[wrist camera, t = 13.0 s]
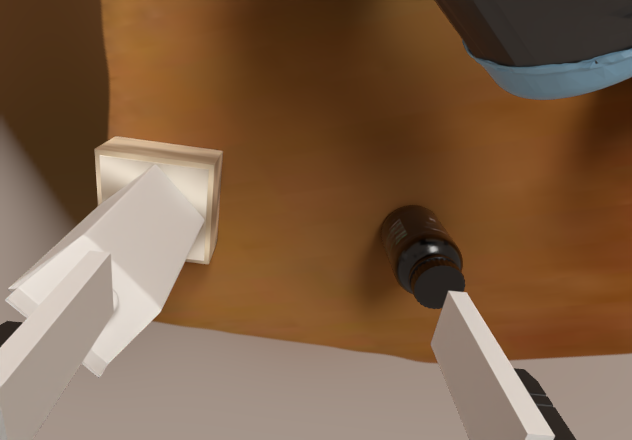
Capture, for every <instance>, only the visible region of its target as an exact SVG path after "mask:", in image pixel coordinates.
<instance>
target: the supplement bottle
mask: <svg viewBox="0 0 632 440" xmlns="http://www.w3.org/2000/svg"><path fill="white" fill-rule="evenodd" d="M381 238H382V242H383V245H384V248H385V251H386V254H387V256H388V259H389V262H390V264H391V267H392V270H393V272H394V275H395V277H396V279H397V281H398V283H399V284H400V286H401V287H402V288H403V289H404V290H406V291H407V292H409V293H411V294H413V295H414V297H415V298H416V299H417V301H418V302H420V304H421V305H423V306H424V307H428V308H433V309H436V308H437V309H440V308H443V305H444V302H445V299H446V296H447V293H448V291H457V292H463V291H464V287H465V280H464V276H463V274H462V267H463V259H462V255H461V252H460V250H459V248H458V247H457V245H456V244H455V242H454V241H453V240H452V238H451V237H450V235H449V234H448V232H447V231H446V230H445V228H444V227H443V225H442V224H441V222H440V221H439V220H438V218H437V217H436V216H435V215H434V213H432V212H431V211H430V210H429V209H427V208H425V207H422V206H417V205H409V206H404V207H401V208H399V209H397V210H395V211H394V212H392V213H391V214H390V215H389V216H388V217H387V219H386V220H385V222H384V224H383V227H382V231H381Z"/></svg>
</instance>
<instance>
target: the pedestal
mask: <svg viewBox="0 0 632 440" xmlns="http://www.w3.org/2000/svg"><path fill="white" fill-rule="evenodd" d="M222 157H223V151H220V150H213V149H206V148H198V147H191V146H184V145H176V144H169V143H162V142H154V141H147V140H140V139H132V138H125V137H118V136H115V137H114V138H112V139H110V140H109V141H107V142H105V143H104V144H103V145H101V146H99V147H97V148H96V149H95V162H96V179H97V195H98V206H99V205H100V204H101V203H103V202H104V201H105V200H107V199H108V198H110V197H111V196H112V195H114V194H115V193H116V192H118V191H119V190H121V189H122V188H123V187H125V186H126V185H127V184H129V183H130V182H131V181H133V180H134V179H136V178H137V177H138V176H140V175H141V174H142V173H144V172H145V171H147V170H148V169H149V168H151V167H152V166H153V165H157V166H158V167H159V168H160V169H161V170H162V171H163V172H164V173H165V175H166V176H167V177H168V178H169V179H170V180H171V181H172V183H173V184H174V185H175V186H176V187H177V188H178V189H179V191H180V192H181V193H182V194H183V195H184V196H185V197H186V199H187V200H188V201H189V202H190V203H191V204H192V205H193V207H194V208H195V209H196V210H197V211H198V212H199V213H200V215H201V216H202V217H203V218H204V223H203V225H202V227H201V229H200V231H199V233H198V235H197V237H196V239H195V242H194V244H193V246H192V248H191V250H190V252H189V254H188V256H187V258H186V260H185V262H192V263H201V264H209V262H210V260H211V257H212V254H213V252H214V249H215V246H216V244H217V234H218V219H219V203H220V188H221V172H222Z"/></svg>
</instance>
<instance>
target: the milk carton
mask: <svg viewBox="0 0 632 440" xmlns="http://www.w3.org/2000/svg"><path fill="white" fill-rule="evenodd" d="M203 223H204V218H203V217H202V216H201V215H200V213H199V212H198V211H197V210H196V209H195V208H194V207H193V205H192V204H191V203H190V202H189V201H188V200H187V199H186V197H185V196H184V195H183V194H182V193H181V192H180V191H179V189H178V188H177V187H176V186H175V185H174V184H173V183H172V181H171V180H170V179H169V178H168V177H167V176H166V175H165V173H164V172H163V171H162V170H161V169H160V168H159V167H158V166H157V165H153V166H152V167H151V168H149V169H148V170H147V171H145V172H144V173H142V174H141V175H140V176H138V177H137V178H136V179H134V180H133V181H131V182H130V183H129V184H127V185H126V186H125V187H123V188H122V189H121V190H119V191H118V192H116V193H115V194H114V195H112V196H111V197H110V198H108V199H107V200H105V201H104V202H103V203H101V204H100V205H99V206H98V207H97V208H96V209H95V210H94V211H92V212H91V213H90V214H89V215H88V216H87V217H86V218H85V219H84V220H83V221H81V222H80V224H78V225H77V226H76V227H75V228H74V229H73V230H72V231H71V232H70V233H68V234H67V235H66V236H65V237H64V238H63V239H62V240H61V241H60V242H59V243H57V245H55V246H54V247H53V248H52V249H51V250H50V251H49V252H48V253H46V254H45V255H44V256H43V257H42V258H41V259H40V260H39V261H38V262H37V263H36V264H34V265H33V266H32V267H31V268H30V269H29V270H28V271H27V272H26V273H25V274H24V275H22V276H21V277H20V278H19V279H18V280H17V281H16V282H15V283H14V284H13V285H11V286H10V287H9V288H8V290H9V291H10V292H11V294H10V295H9V296H8V297H7V298H6V299H5V300H6V302H7V303H9V304H10V305H11V306H12V307H14V308H15V309H16V310H17V311H18V312H20V313H21V314H22V315H23V316H24V317H26V318H28V317H29V316H30V315H31V314H32V312H33V311H34V310H35V309H36V308H37V307H38V306H39V305H40V304H41V303H42V302H43V301H44V299H45V298H46V297H47V296H48V295H49V294H50V293H51V292H52V291H53V290H54V289H55V287H56V286H57V285H58V284H59V283H60V282H61V281H62V280H63V279H64V278H65V277H66V276H67V274H68V273H69V272H70V271H71V270H72V269H73V268H74V267H75V266H76V265H77V264H78V262H79V261H80V260H81V259H82V258H83V257H84V256H85V255H86V254H87V253H88V252H89V251H98V252H107V253H111V267H112V287H113V307H114V313H113V315H112V317H111V318H110V320H109V321H108V323H107V324H106V326H105V328H104V329H103V331H102V332H101V334H100V335H99V337H98V339H97V340H96V342H95V343H94V345H93V346H92V348H91V349H90V351H89V353H88V354H87V356H86V357H85V359H84V360H83V362H82V364H83V365H84V366H85V367H86V368H87V369H89V370H90V371H91V372H92V373H93V374H95V375H96V376H97V377H98V378H99V377H101V376H102V374H103V372H104V371H105V369H106V367H107V365H108V364H109V363H110V362H111V361H112V360H113V359H114V358H115V357H116V356H117V355H118V354H119V353H120V352H121V351H122V350H123V349H124V348H125V347H126V346H127V345H128V344H129V343H130V342H131V341H132V340H133V339H134V338H135V337H136V336H137V335H138V334H139V333H140V332H141V331H142V330H143V329H144V328H145V327H146V326H147V325H148V324H149V323H150V322H151V321H152V320H153V319H154V318H155V317H156V316H157V315H158V314H159V313H160V312H161V310H162V308H163V306H164V304H165V302H166V300H167V298H168V296H169V294H170V292H171V290H172V288H173V285H174V283H175V281H176V279H177V277H178V275H179V273H180V271H181V269H182V267H183V265H184V262H185V260H186V258H187V256H188V254H189V252H190V250H191V248H192V246H193V244H194V242H195V239H196V237H197V235H198V233H199V231H200V229H201V227H202V225H203Z"/></svg>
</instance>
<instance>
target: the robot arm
mask: <svg viewBox="0 0 632 440" xmlns="http://www.w3.org/2000/svg"><path fill="white" fill-rule="evenodd" d="M434 1H435V2H436V3H437V5H438V6H439V7H440V9H441V10H442V12H443V13H444V14H445V16H446V17H447V19H448V20H449V21H450V23H451V24H452V25H453V27H454V28H455V30H456V31H457V32H458V34H459V35H460V37H461V38H462V39H463V40H462V41H463V45H464V47H465V49H466V51H467V53H468V54H469V55H470V56H471V57H472V58H474V59H475V61H476V62H478V63H479V64H481V65H482V66H483V67H484V68H485V70H486V71H487V72H488V73H489V75H490V76H491V77H492V78H493V80H494V81H495V82H496V83H497V84H498V85H499V86H500V87H501V88H503V89H504V90H506V91H507V92H509V93H511V94H513V95H515V96H518V97H522V98H527V99H535V100H551V99H560V98H567V97H573V96H578V95H582V94H586V93H590V92H594V91H597V90H600V89H603V88H606V87H609V86H611V85H614V84H617V83H619V82H622V81H624V80H626V79H629V78H631V77H632V0H434ZM113 313H114V307H113V287H112V267H111V253H107V252H98V251H89V252H88V253H87V254H86V255H85V256H84V257H83V258H82V259H81V260H80V261H79V262H78V264H77V265H76V266H75V267H74V268H73V269H72V270H71V271H70V272H69V273H68V274H67V276H66V277H65V278H64V279H63V280H62V281H61V282H60V283H59V284H58V285H57V286H56V287H55V289H54V290H53V291H52V292H51V293H50V294H49V295H48V296H47V297H46V298H45V299H44V301H43V302H42V303H41V304H40V305H39V306H38V307H37V308H36V309H35V310H34V311H33V312H32V314H31V315H30V316H29V317H28V318H27V319H26V320H25V321H24V322H23V323H22V322H12V321H7V322H5V323H3V324H1V325H0V440H33V439H34V437H35V436H36V434H37V432H38V431H39V429H40V428H41V426H42V425H43V423H44V421H45V420H46V418H47V417H48V415H49V414H50V412H51V410H52V409H53V407H54V406H55V404H56V403H57V401H58V400H59V398H60V396H61V395H62V393H63V392H64V390H65V389H66V387H67V385H68V384H69V382H70V381H71V379H72V378H73V376H74V374H75V373H76V371H77V370H78V368H79V367H80V365H81V364H82V362H83V360H84V359H85V357H86V356H87V354H88V353H89V351H90V349H91V348H92V346H93V345H94V343H95V342H96V340H97V339H98V337H99V335H100V334H101V332H102V331H103V329H104V328H105V326H106V324H107V323H108V321H109V320H110V318H111V317H112V315H113ZM431 347H432V349H433V351H434V354H435V356H436V359H437V361H438V364H439V366H440V369H441V371H442V374H443V376H444V379H445V381H446V383H447V386H448V388H449V391H450V393H451V396H452V398H453V401H454V403H455V406H456V408H457V411H458V413H459V415H460V418H461V420H462V422H463V425H464V427H465V430H466V433H467V435H468V438H469V440H576V439H575V437H574V436H573V434H572V433H571V431H570V430H569V428H568V427H567V425H566V424H565V422H564V421H563V419H562V418H561V416H560V415H559V413H558V411H557V410H556V408H554V407H553V404H552V402H551V401H550V399H549V398H548V397H546V393H545V392H544V391H543V389H542V388H541V386H540V384H539V383H538V381H537V380H536V379H534V378H533V377H532V376H531V375H530V374H529V373H528V372H527V371H526V370H524V369H515V368H513V367H512V366H511V364H510V362H509V361H508V359H507V357H506V356H505V354H504V352H503V351H502V349H501V348H500V346H499V344H498V343H497V341H496V339H495V338H494V336H493V335H492V333H491V331H490V330H489V328H488V327H487V325H486V323H485V322H484V320H483V318H482V317H481V315H480V314H479V312H478V310H477V309H476V307H475V305H474V304H473V302H472V301H471V299H470V297H469V296H468V294H467V293H466V292H457V291H448V293H447V296H446V299H445V302H444V305H443V308H442V311H441V314H440V317H439V320H438V323H437V326H436V329H435V332H434V336H433V339H432V342H431Z"/></svg>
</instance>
